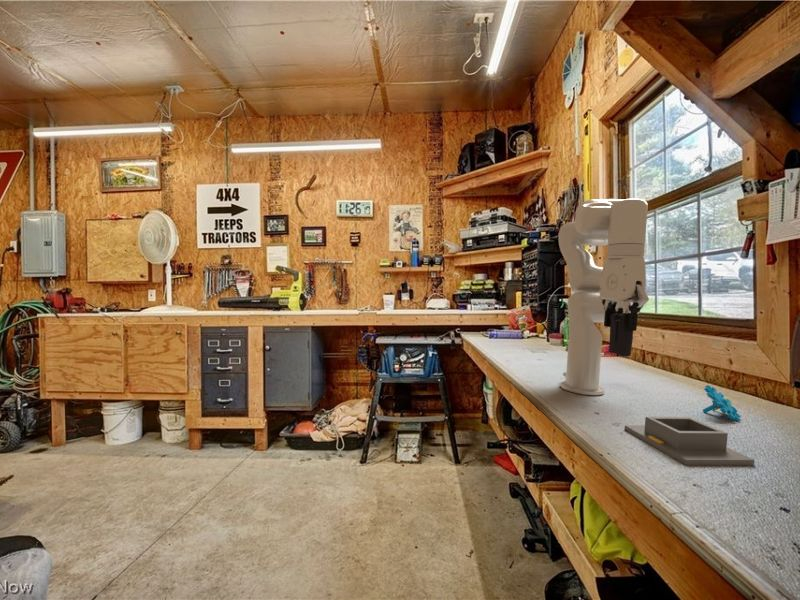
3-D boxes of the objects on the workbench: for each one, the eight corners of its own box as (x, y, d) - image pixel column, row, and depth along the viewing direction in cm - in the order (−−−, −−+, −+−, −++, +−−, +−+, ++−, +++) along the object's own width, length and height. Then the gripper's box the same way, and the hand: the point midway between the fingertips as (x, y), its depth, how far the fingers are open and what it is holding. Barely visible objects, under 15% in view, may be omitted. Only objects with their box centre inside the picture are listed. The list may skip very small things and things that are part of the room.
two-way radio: (634, 357, 83) (640, 293, 82) (618, 357, 82) (623, 292, 81) (616, 352, 88) (621, 292, 87) (601, 352, 87) (605, 291, 87)
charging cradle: (624, 429, 82) (625, 410, 82) (680, 430, 83) (681, 411, 83) (685, 465, 66) (687, 441, 66) (754, 465, 67) (756, 441, 67)
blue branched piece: (735, 419, 87) (703, 383, 94) (711, 429, 91) (682, 394, 97) (749, 418, 93) (719, 384, 99) (727, 428, 97) (698, 394, 103)
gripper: (588, 254, 92) (583, 323, 93) (637, 249, 75) (631, 333, 76) (615, 256, 93) (610, 324, 94) (670, 250, 76) (663, 334, 77)
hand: (619, 327), depth 85 cm, fingers closed on two-way radio, 5 cm apart
